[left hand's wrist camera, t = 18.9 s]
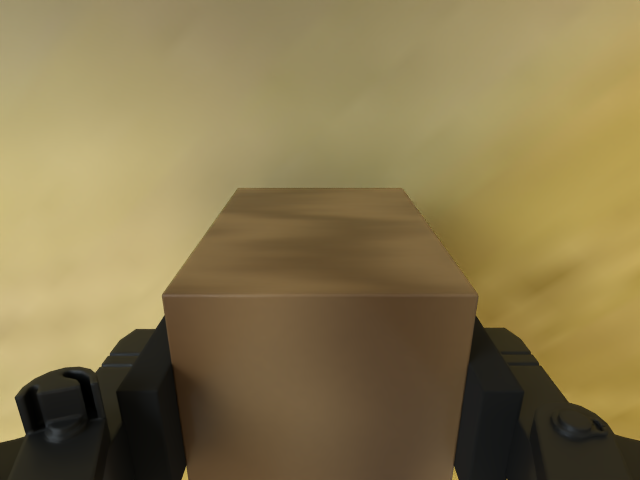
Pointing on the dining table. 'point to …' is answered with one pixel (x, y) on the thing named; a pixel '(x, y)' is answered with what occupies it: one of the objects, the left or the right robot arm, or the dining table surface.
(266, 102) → the dining table surface
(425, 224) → the block
